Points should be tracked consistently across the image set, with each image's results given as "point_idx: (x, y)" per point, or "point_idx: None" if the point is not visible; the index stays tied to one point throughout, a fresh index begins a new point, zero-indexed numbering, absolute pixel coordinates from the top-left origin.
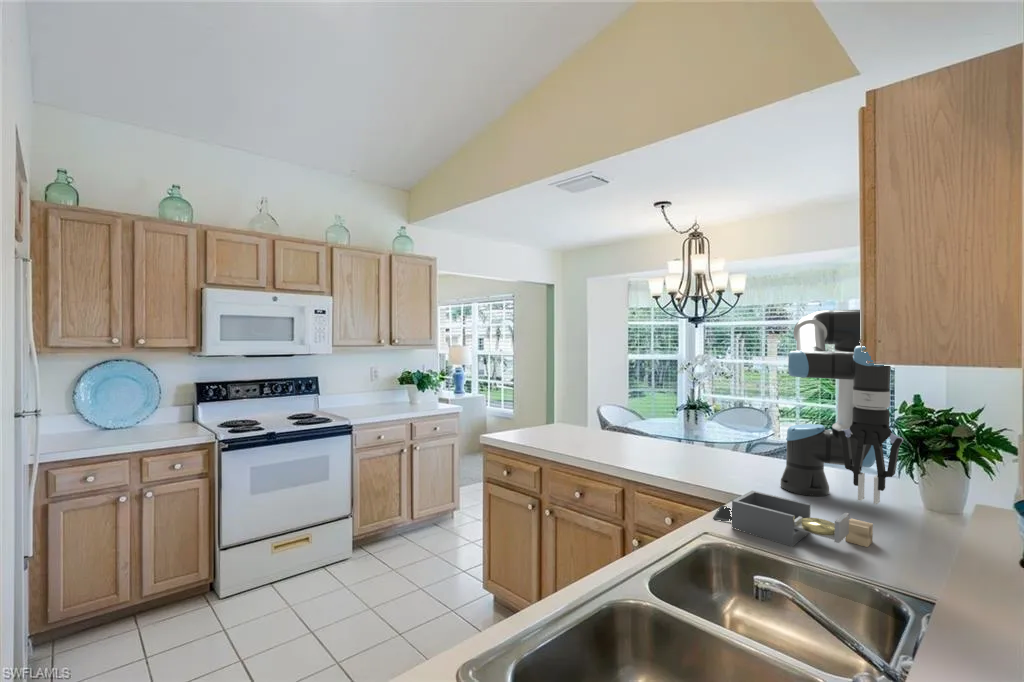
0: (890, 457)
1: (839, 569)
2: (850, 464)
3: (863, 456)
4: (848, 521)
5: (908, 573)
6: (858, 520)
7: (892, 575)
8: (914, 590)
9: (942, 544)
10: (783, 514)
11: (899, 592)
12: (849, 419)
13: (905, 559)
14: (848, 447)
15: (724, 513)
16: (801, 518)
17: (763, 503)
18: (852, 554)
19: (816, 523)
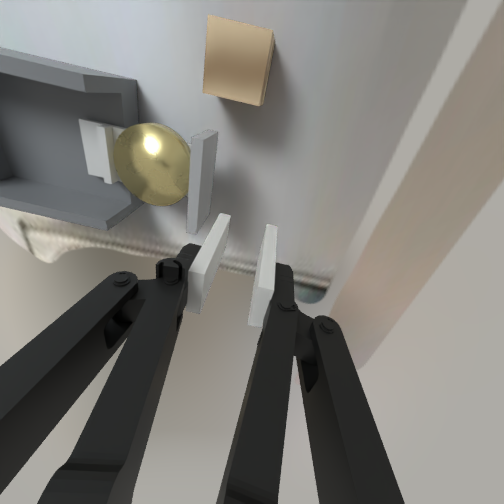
0: (320, 476)
1: (224, 253)
2: (128, 328)
3: (158, 365)
4: (208, 143)
5: (322, 211)
6: (230, 24)
7: (295, 233)
8: (317, 268)
9: None
10: (87, 225)
11: (296, 283)
12: None
13: (333, 134)
14: (33, 450)
15: None
16: (106, 137)
17: None
18: (236, 175)
19: (148, 173)
